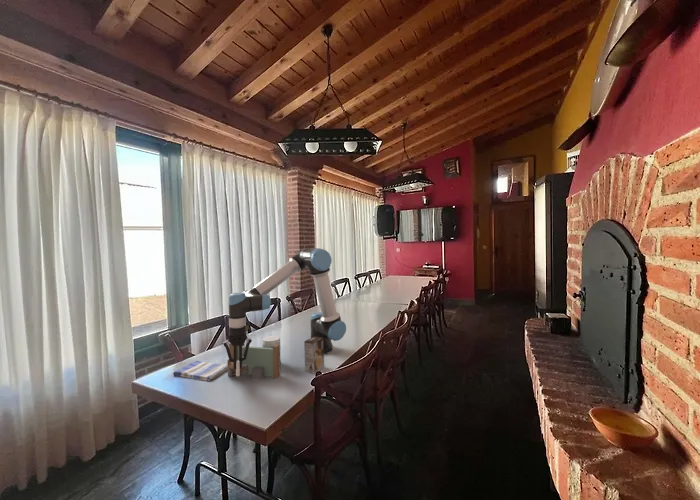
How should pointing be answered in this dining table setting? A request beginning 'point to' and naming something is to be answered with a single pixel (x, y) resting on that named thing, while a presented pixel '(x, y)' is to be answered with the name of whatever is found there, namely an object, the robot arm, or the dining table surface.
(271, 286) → the robot arm
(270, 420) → the dining table surface
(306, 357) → the coffee box
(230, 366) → the walnut bar
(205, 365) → the dish towel
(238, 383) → the dining table surface
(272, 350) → the door set
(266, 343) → the supplement tub
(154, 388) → the dining table surface
